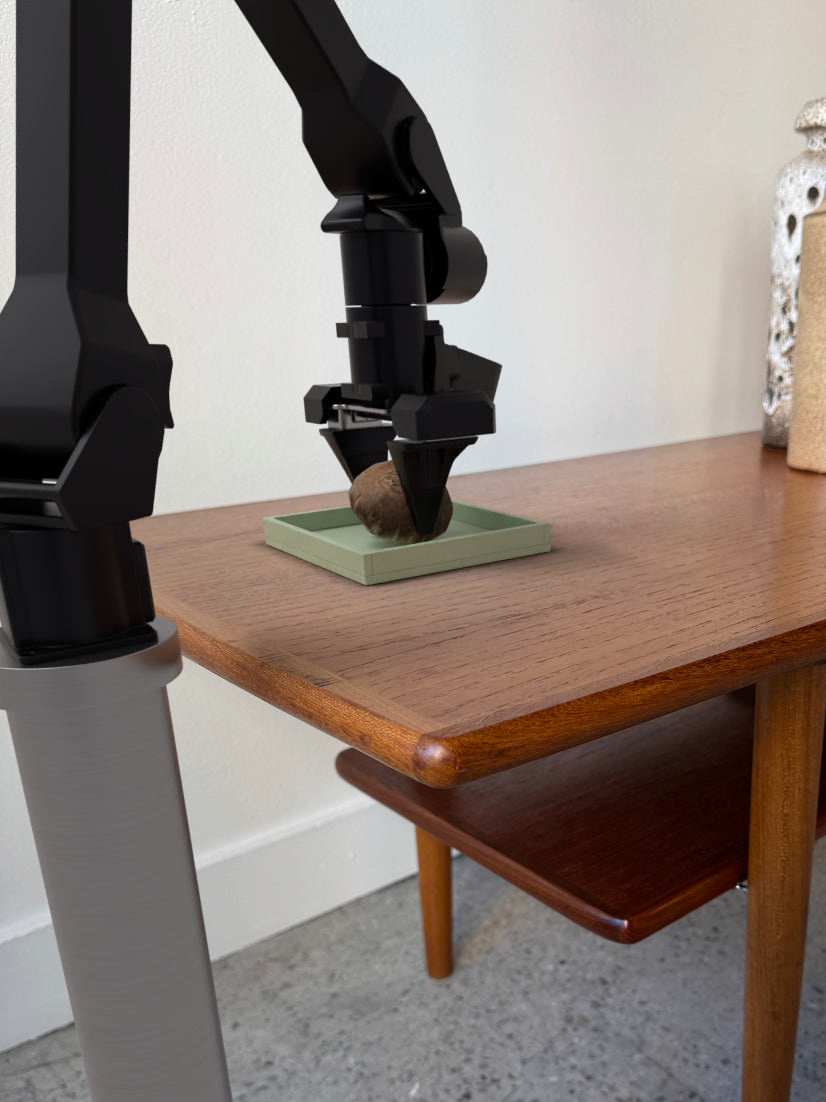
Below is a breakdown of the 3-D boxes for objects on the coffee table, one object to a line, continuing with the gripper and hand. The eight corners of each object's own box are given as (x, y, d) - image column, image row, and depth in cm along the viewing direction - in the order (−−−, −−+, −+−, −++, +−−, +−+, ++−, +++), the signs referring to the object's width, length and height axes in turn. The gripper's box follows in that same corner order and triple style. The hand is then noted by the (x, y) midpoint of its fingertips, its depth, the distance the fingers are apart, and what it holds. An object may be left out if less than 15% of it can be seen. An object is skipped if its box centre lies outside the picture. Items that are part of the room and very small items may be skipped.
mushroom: (336, 489, 81) (363, 426, 77) (430, 520, 85) (461, 461, 80) (332, 557, 76) (361, 493, 72) (433, 587, 79) (466, 527, 75)
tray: (365, 585, 69) (363, 554, 68) (265, 544, 82) (262, 517, 81) (551, 551, 77) (550, 522, 76) (432, 518, 90) (431, 494, 89)
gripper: (557, 301, 70) (561, 530, 76) (419, 306, 85) (431, 498, 90) (413, 304, 64) (428, 553, 70) (291, 309, 79) (311, 515, 84)
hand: (401, 526), depth 79 cm, fingers closed on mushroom, 7 cm apart
